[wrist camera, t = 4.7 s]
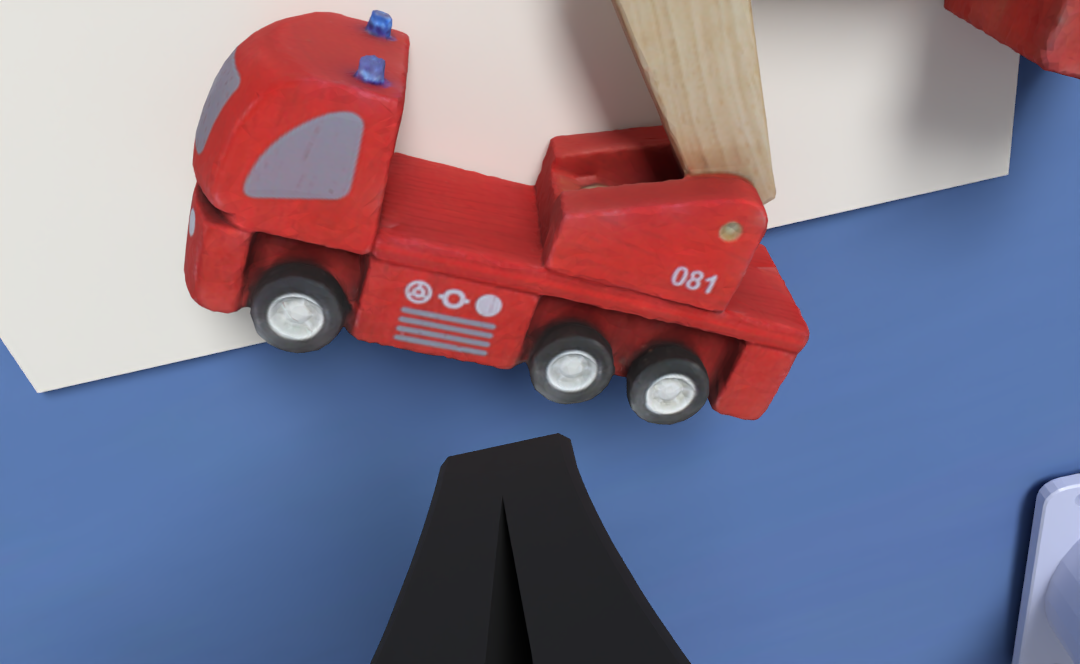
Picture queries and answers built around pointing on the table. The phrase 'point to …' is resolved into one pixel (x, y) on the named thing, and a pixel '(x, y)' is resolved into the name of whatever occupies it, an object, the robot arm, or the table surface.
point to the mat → (424, 134)
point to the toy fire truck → (523, 212)
